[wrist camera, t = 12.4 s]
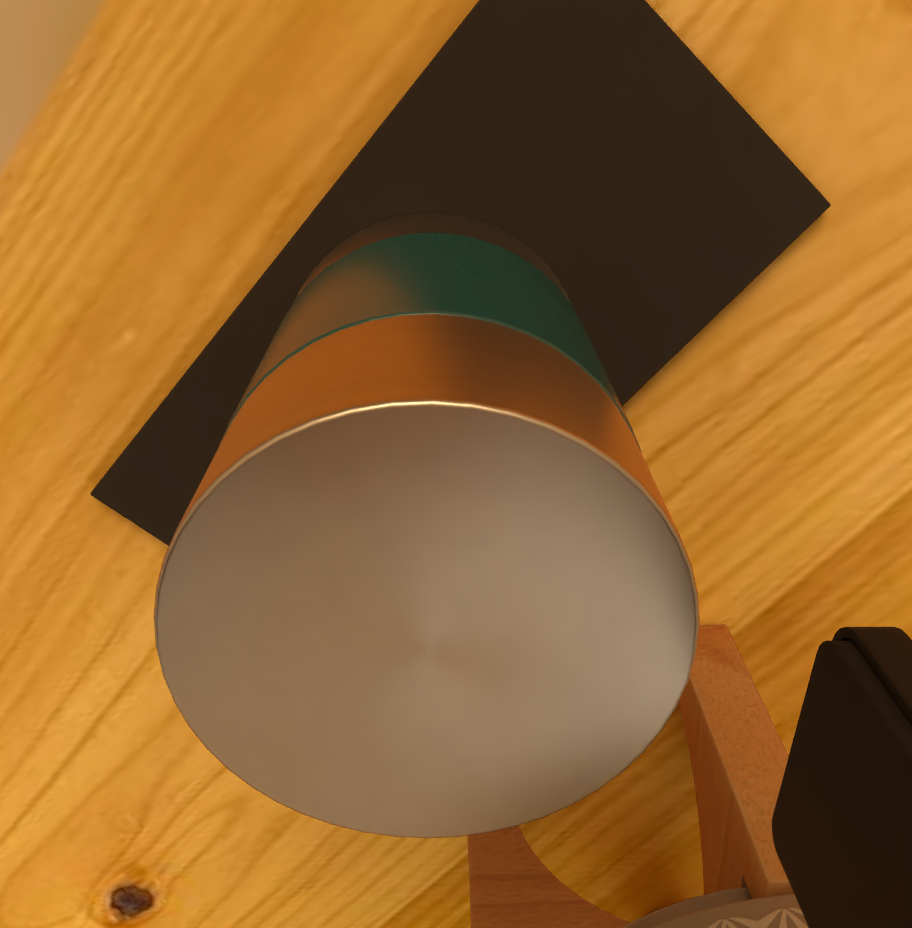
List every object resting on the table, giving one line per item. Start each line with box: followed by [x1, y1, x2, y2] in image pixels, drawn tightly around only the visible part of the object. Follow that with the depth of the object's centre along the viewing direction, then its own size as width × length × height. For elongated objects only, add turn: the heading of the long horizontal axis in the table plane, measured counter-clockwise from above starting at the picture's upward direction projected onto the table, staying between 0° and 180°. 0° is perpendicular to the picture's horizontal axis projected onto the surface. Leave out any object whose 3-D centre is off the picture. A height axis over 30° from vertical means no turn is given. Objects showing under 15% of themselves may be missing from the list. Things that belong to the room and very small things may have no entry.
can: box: [154, 213, 699, 838], centre depth 15 cm, size 7×7×10 cm
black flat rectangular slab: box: [91, 0, 830, 545], centre depth 20 cm, size 16×8×1 cm, turn 139°
